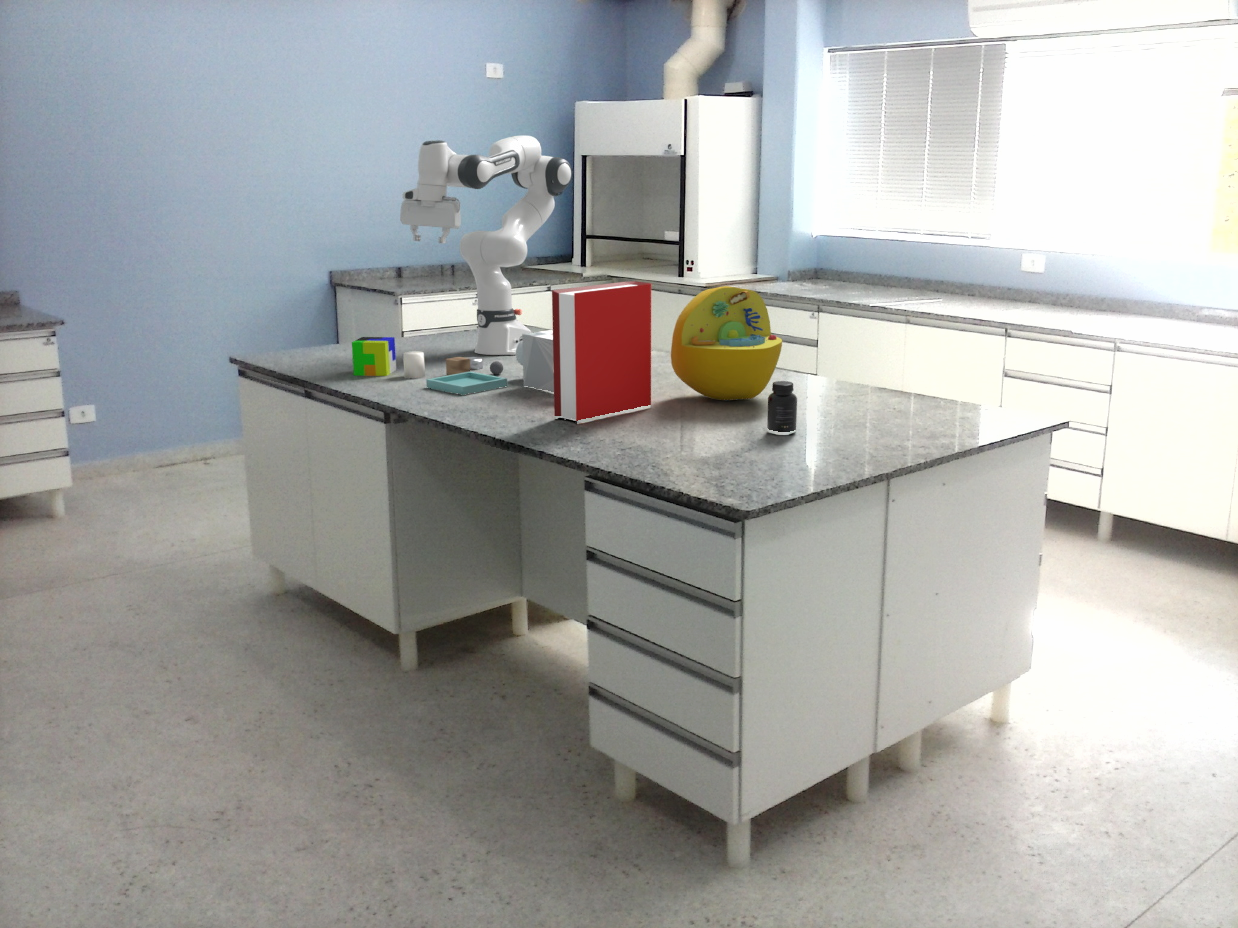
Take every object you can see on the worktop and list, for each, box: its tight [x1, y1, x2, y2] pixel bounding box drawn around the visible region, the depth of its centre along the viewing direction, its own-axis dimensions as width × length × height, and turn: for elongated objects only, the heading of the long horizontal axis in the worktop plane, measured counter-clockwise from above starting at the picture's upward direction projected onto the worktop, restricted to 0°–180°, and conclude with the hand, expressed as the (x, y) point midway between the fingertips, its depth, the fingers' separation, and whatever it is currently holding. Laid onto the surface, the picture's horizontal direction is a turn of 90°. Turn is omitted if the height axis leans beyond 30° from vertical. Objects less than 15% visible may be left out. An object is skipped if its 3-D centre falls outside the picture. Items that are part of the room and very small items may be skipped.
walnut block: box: [445, 356, 471, 376], centre depth 347 cm, size 5×5×5 cm
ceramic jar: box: [402, 350, 426, 379], centre depth 345 cm, size 6×6×7 cm
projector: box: [515, 329, 554, 392], centre depth 329 cm, size 35×19×15 cm, turn 41°
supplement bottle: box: [766, 380, 798, 432], centre depth 275 cm, size 7×7×12 cm
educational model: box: [670, 285, 783, 401], centre depth 308 cm, size 29×30×30 cm
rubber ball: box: [489, 360, 504, 376], centre depth 347 cm, size 4×4×4 cm
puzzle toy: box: [351, 336, 397, 377], centre depth 351 cm, size 10×10×10 cm
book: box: [551, 280, 652, 421], centre depth 293 cm, size 27×8×32 cm, turn 134°
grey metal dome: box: [463, 356, 484, 371], centre depth 358 cm, size 7×7×3 cm
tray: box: [425, 370, 508, 396], centre depth 330 cm, size 16×16×2 cm
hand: (429, 242), depth 355 cm, fingers open, 8 cm apart
